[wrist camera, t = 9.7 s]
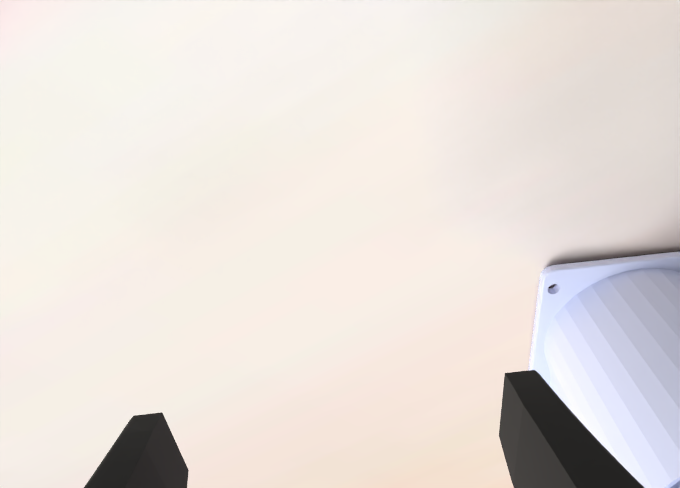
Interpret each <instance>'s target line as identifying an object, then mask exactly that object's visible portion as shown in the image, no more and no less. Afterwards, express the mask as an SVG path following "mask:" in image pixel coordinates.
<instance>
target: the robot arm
mask: <svg viewBox="0 0 680 488" xmlns="http://www.w3.org/2000/svg"><path fill="white" fill-rule="evenodd" d="M553 284H556V285H555V286H554V287H553V288H548V287H550V286H551V285H553ZM499 437H500V441H501V444H502V448H503V452H504V455H505V459H506V463H507V466H508V469H509V473H510V476H511V480H512V483H513V486H514V488H680V251H679V252H670V253H661V254H651V255H642V256H633V257H624V258H614V259H605V260H596V261H587V262H577V263H568V264H559V265H552V266H548V267H547V268H545V269H544V270H543V271H542V272H541V275H540V281H539V289H538V297H537V305H536V313H535V321H534V329H533V337H532V345H531V354H530V362H529V370H528V371H521V372H512V373H505V378H504V388H503V399H502V409H501V420H500V431H499ZM187 480H188V468H187V466H186V464H185V462H184V459H183V457H182V455H181V453H180V451H179V448H178V446H177V444H176V442H175V440H174V437H173V435H172V433H171V431H170V429H169V427H168V424H167V422H166V420H165V418H164V416H163V413H154V414H146V415H137V416H133V417H132V418H131V420H130V421H129V422H128V424H127V425H126V427H125V428H124V430H123V431H122V433H121V434H120V436H119V437H118V439H117V440H116V442H115V443H114V445H113V446H112V448H111V449H110V450H109V452H108V453H107V455H106V456H105V458H104V459H103V461H102V462H101V464H100V465H99V467H98V468H97V470H96V471H95V472H94V474H93V475H92V477H91V478H90V480H89V481H88V483H87V484H86V485H85V487H84V488H187Z"/></svg>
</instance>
